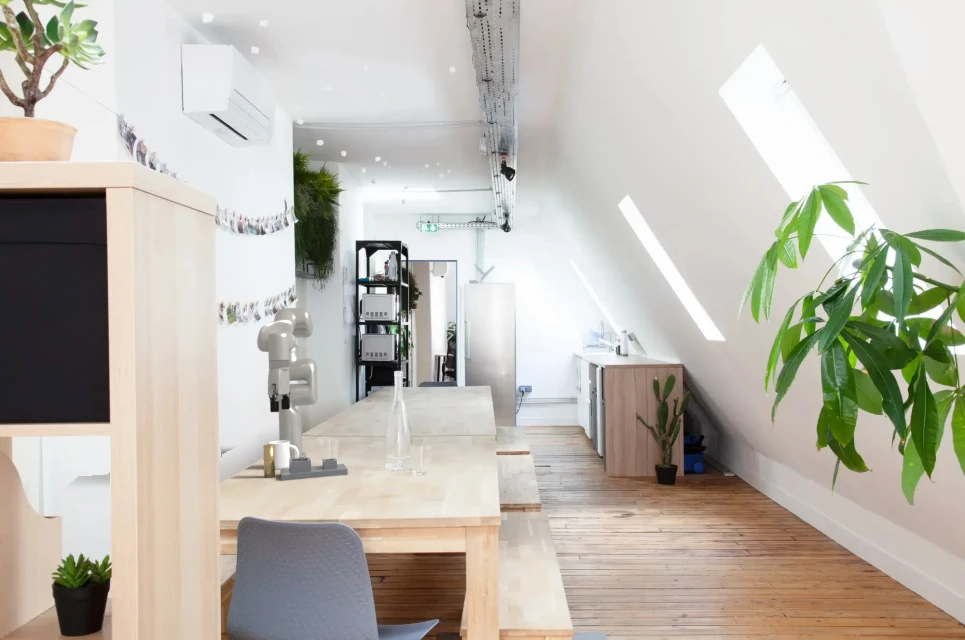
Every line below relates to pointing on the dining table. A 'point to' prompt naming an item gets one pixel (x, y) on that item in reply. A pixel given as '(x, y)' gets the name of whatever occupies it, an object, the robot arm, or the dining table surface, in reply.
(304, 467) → the fitting block
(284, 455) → the mug
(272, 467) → the pipe stub
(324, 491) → the dining table surface
